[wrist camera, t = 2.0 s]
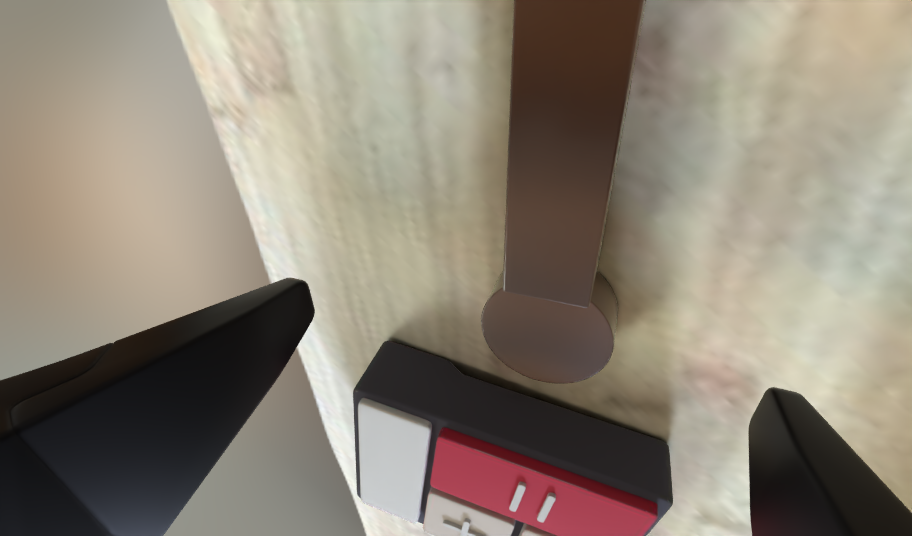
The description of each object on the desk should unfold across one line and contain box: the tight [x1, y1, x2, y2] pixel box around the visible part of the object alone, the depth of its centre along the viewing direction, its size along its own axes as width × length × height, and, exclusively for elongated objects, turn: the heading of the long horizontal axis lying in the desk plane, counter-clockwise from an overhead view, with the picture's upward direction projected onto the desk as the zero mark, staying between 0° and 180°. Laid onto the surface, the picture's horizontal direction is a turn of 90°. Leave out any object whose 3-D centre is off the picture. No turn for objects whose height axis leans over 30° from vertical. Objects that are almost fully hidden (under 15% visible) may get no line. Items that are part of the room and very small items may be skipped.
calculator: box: [353, 341, 673, 536], centre depth 24 cm, size 11×4×15 cm
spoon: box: [481, 0, 646, 383], centre depth 15 cm, size 17×5×3 cm, turn 2°
